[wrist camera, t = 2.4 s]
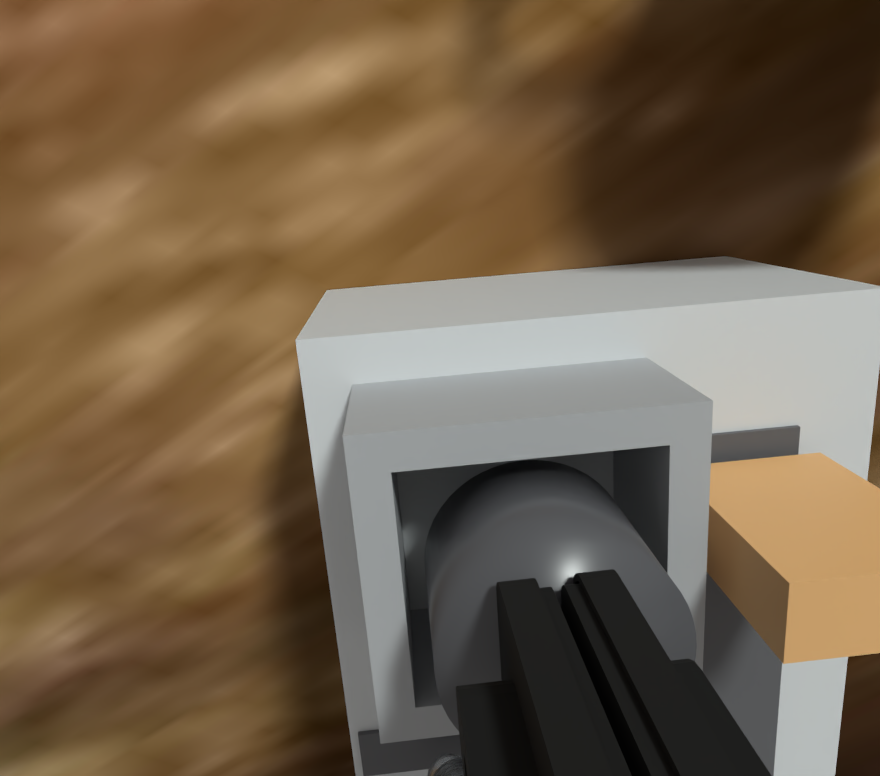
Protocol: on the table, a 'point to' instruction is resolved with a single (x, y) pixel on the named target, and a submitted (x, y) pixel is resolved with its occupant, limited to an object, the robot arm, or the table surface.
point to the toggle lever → (446, 766)
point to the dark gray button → (532, 563)
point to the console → (576, 455)
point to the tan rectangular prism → (798, 553)
